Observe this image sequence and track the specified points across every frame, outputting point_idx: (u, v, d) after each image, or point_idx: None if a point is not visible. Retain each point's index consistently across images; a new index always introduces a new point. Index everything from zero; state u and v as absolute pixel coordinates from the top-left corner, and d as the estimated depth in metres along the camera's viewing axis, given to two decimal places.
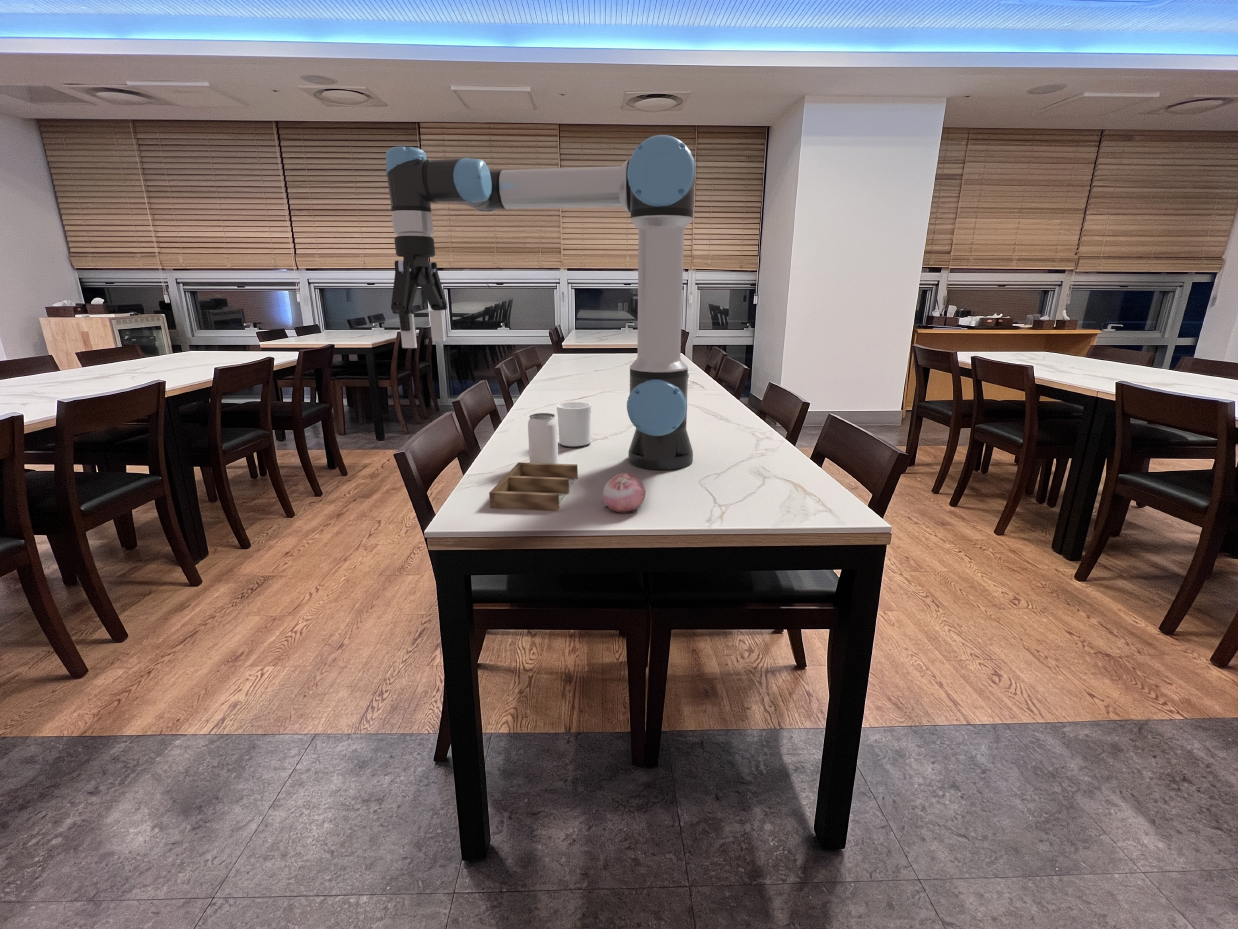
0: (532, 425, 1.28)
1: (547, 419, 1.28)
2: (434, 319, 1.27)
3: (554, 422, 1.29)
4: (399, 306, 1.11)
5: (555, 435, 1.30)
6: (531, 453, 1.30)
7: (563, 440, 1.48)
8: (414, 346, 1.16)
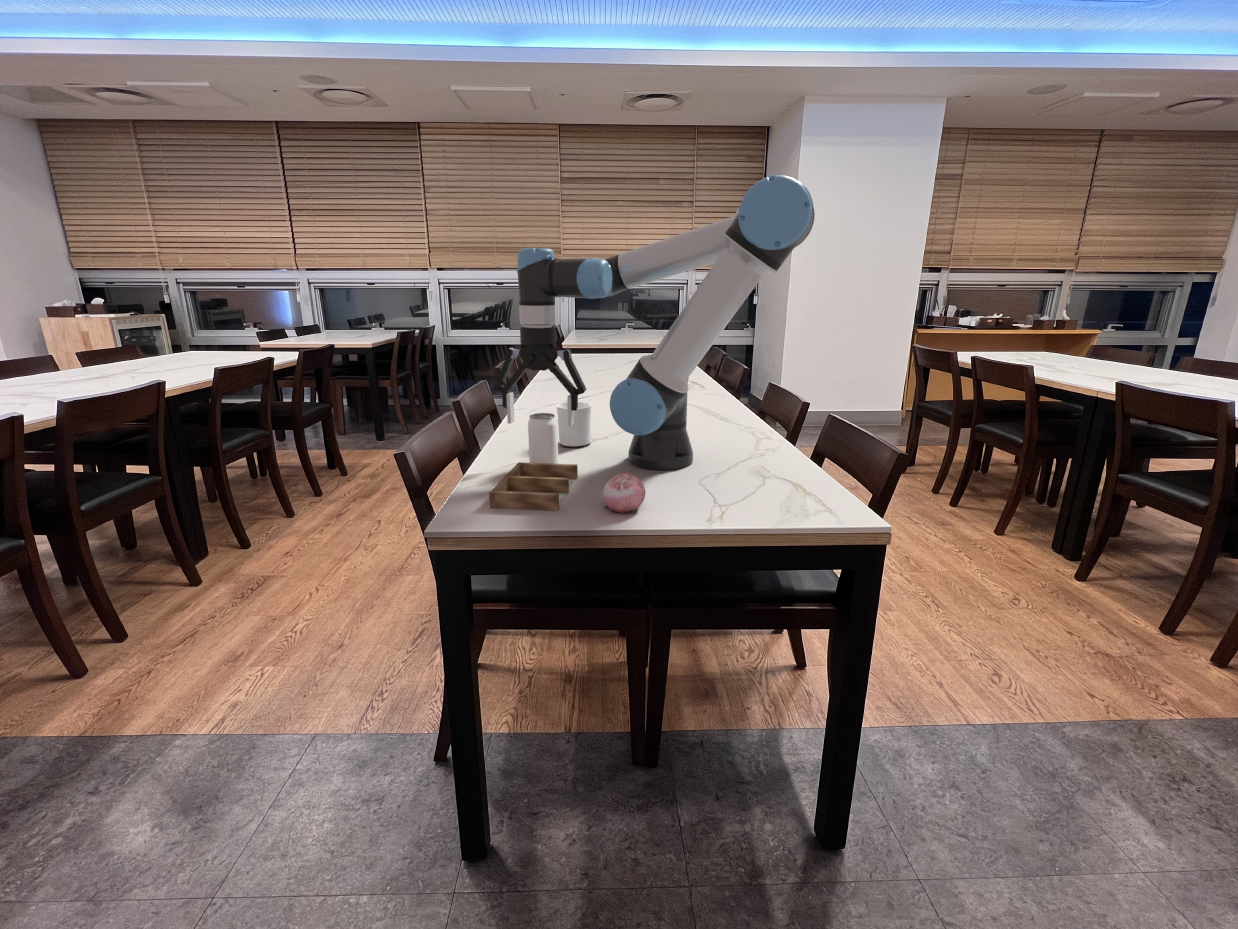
0: (532, 425, 1.28)
1: (547, 419, 1.28)
2: None
3: (554, 422, 1.29)
4: None
5: (555, 435, 1.30)
6: (531, 453, 1.30)
7: (563, 440, 1.48)
8: (508, 422, 1.30)
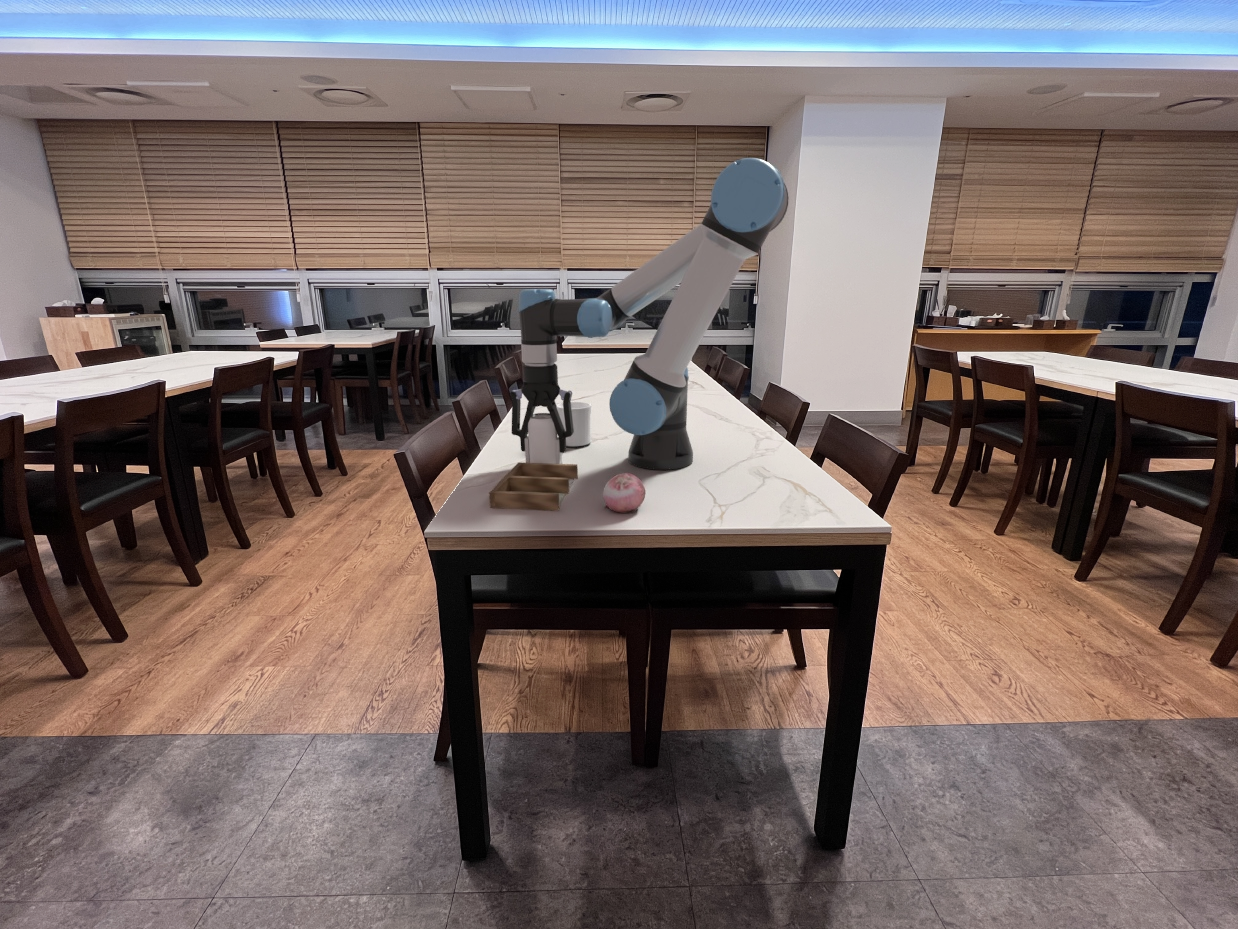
0: (532, 425, 1.28)
1: (547, 419, 1.28)
2: None
3: None
4: None
5: (555, 435, 1.30)
6: (531, 453, 1.30)
7: None
8: None
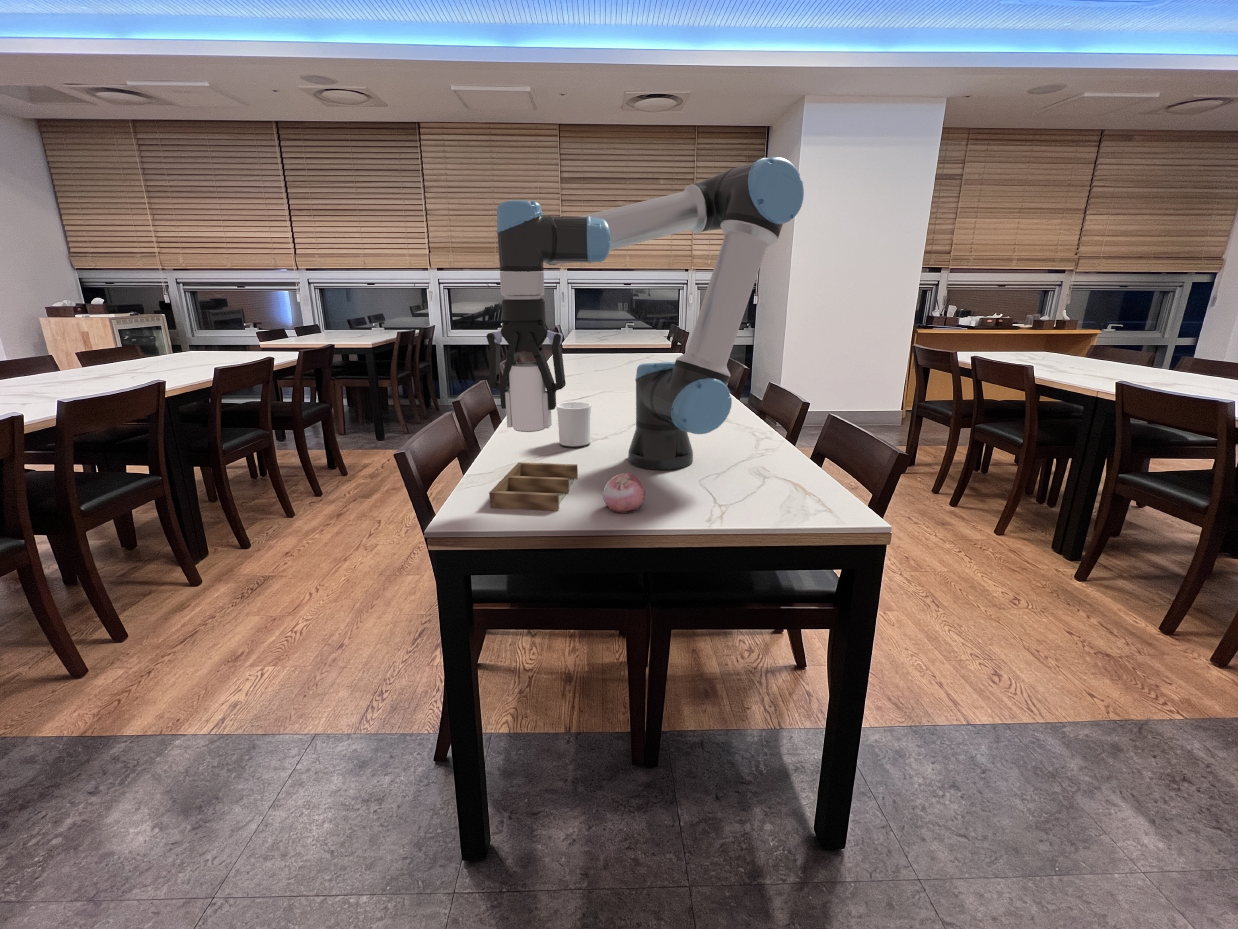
0: (513, 374, 1.04)
1: (532, 367, 1.04)
2: None
3: None
4: None
5: (542, 388, 1.06)
6: (513, 410, 1.06)
7: (563, 440, 1.48)
8: None
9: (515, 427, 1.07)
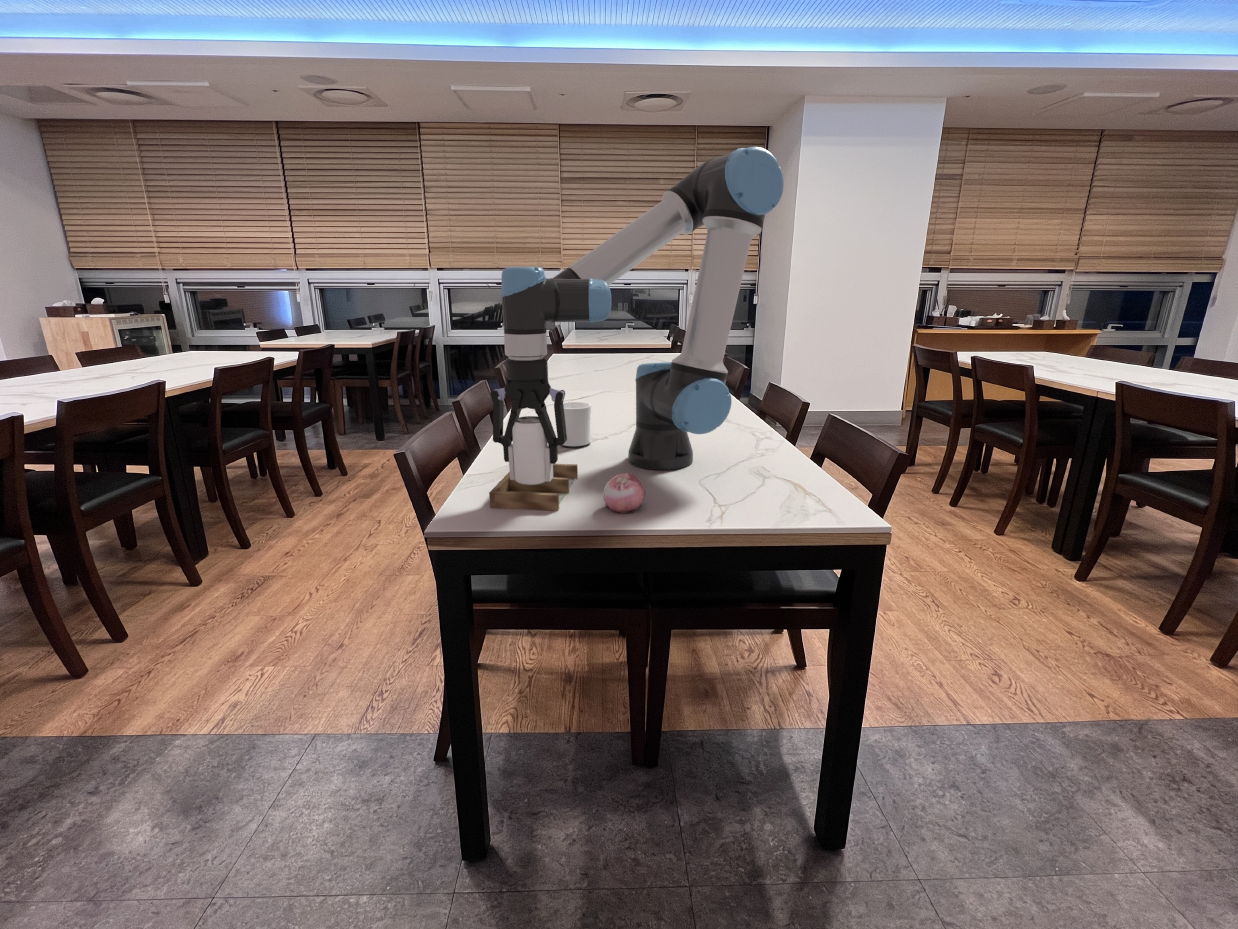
0: (517, 430, 1.07)
1: (535, 424, 1.07)
2: None
3: None
4: None
5: (545, 443, 1.09)
6: (516, 464, 1.09)
7: None
8: (510, 478, 1.12)
9: (518, 480, 1.10)
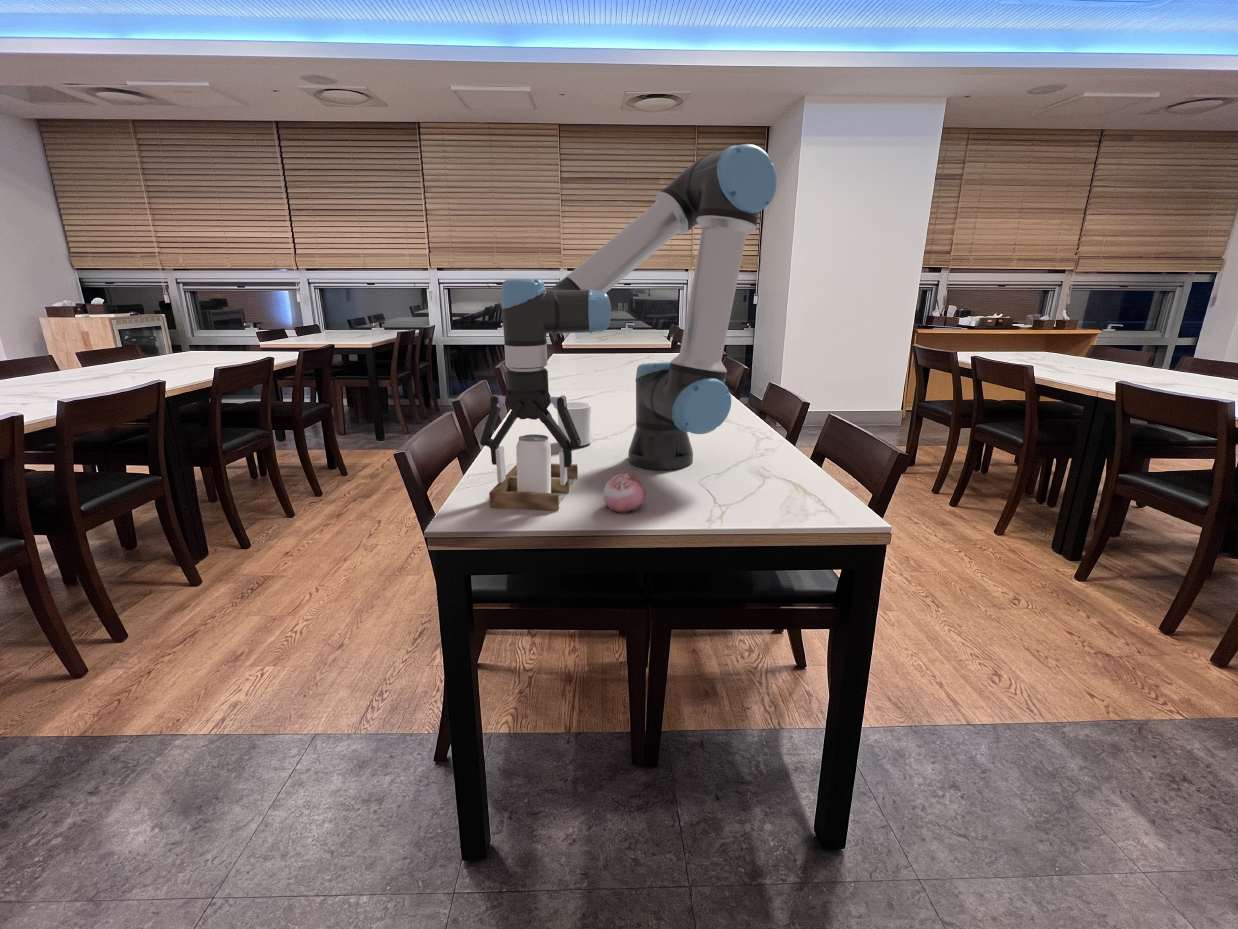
0: (520, 448, 1.08)
1: (539, 442, 1.08)
2: None
3: (547, 445, 1.10)
4: None
5: (548, 461, 1.10)
6: (519, 481, 1.11)
7: None
8: (498, 480, 1.12)
9: None
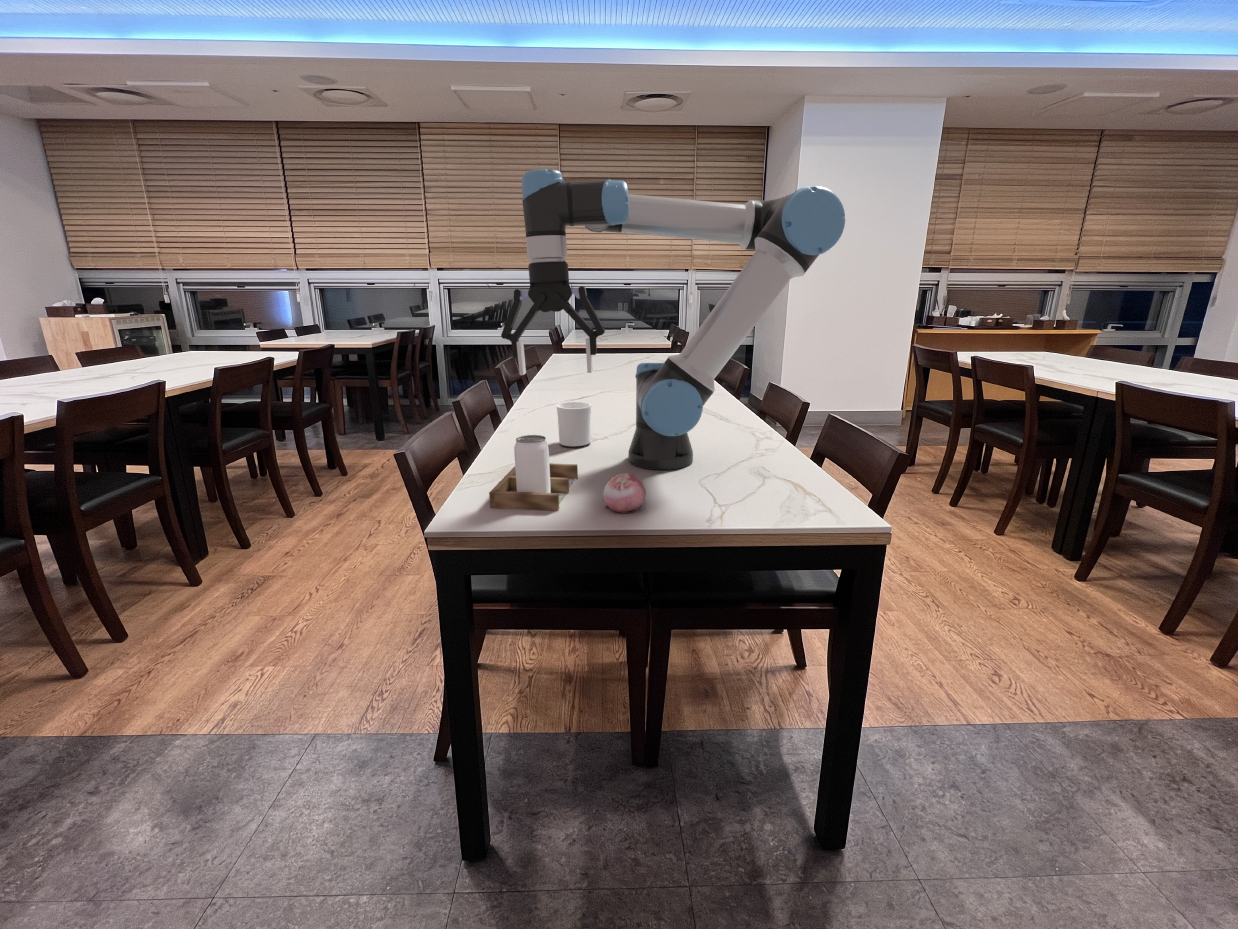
0: (518, 450, 1.08)
1: (536, 443, 1.08)
2: None
3: (545, 446, 1.09)
4: None
5: (546, 461, 1.10)
6: (518, 482, 1.11)
7: (563, 440, 1.48)
8: (519, 373, 1.17)
9: None
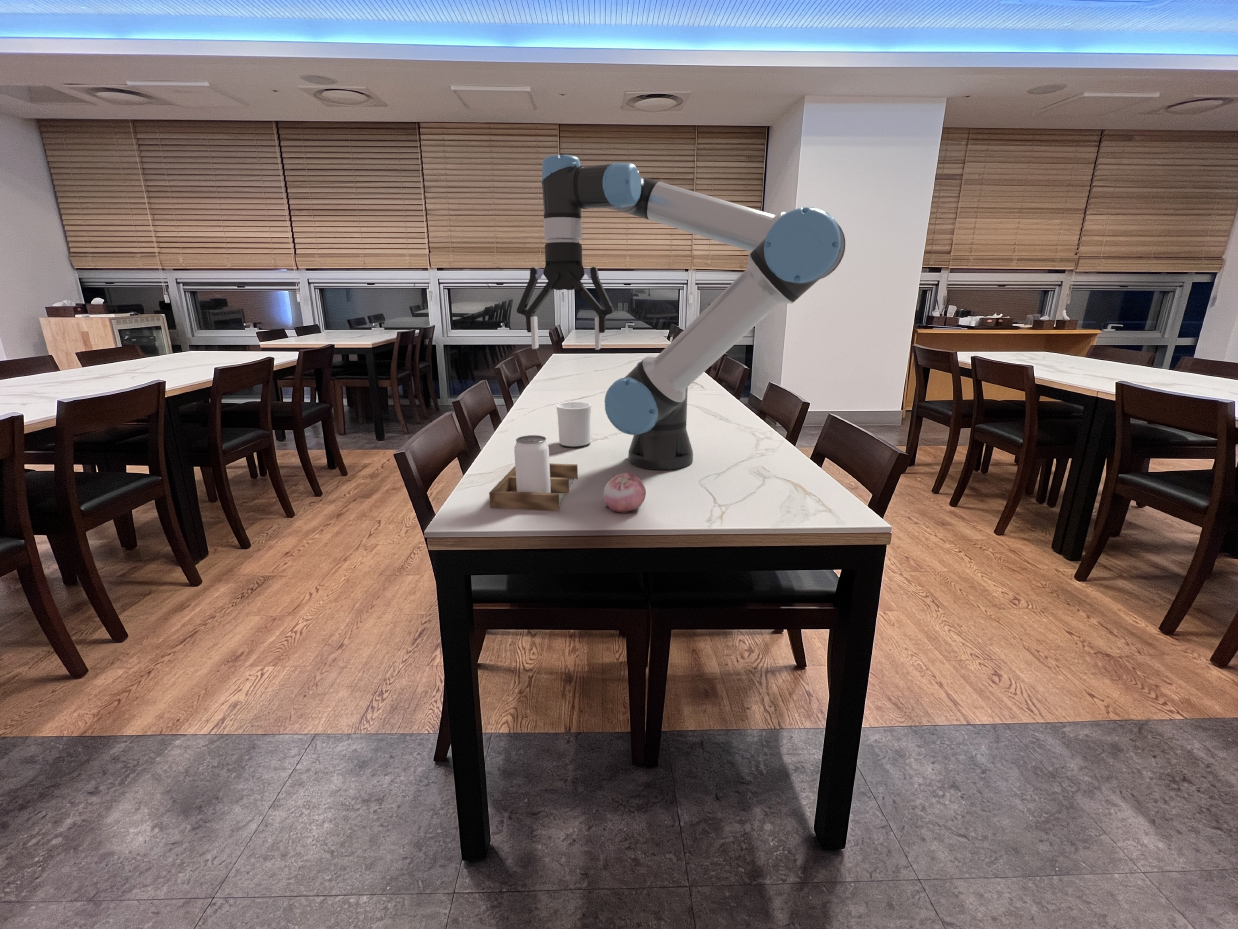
0: (518, 450, 1.08)
1: (536, 444, 1.08)
2: None
3: (545, 447, 1.09)
4: None
5: (546, 462, 1.10)
6: (518, 483, 1.11)
7: (563, 440, 1.48)
8: (532, 347, 1.24)
9: None
